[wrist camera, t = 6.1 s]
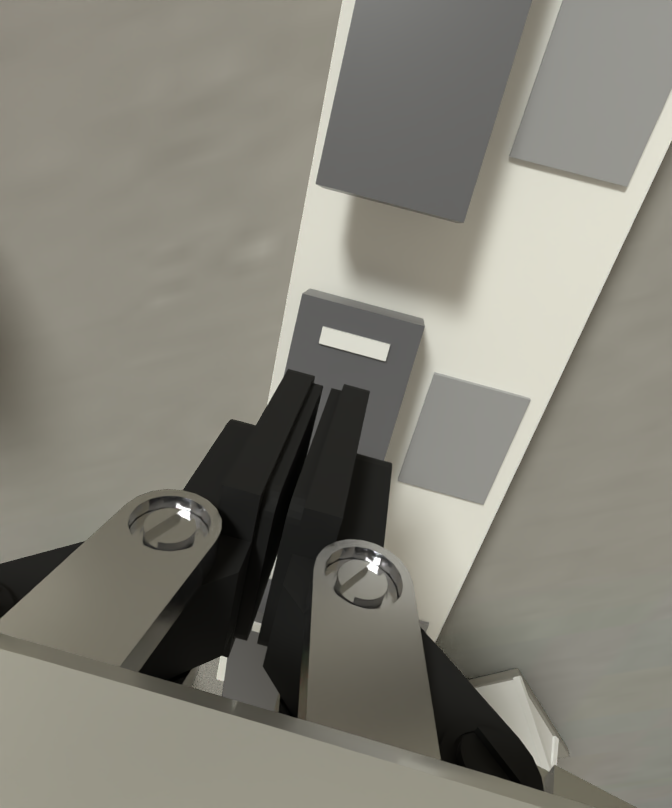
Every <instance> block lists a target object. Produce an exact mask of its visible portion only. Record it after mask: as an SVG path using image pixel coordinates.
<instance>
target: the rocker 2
mask: <svg viewBox="0 0 672 808" xmlns="http://www.w3.org/2000/svg"><path fill="white" fill-rule="evenodd" d="M531 3H532V0H356V1H355V5H354V10H353V14H352V19H351V24H350V28H349V33H348V37H347V42H346V46H345V51H344V55H343V60H342V65H341V69H340V74H339V78H338V83H337V87H336V92H335V96H334V101H333V106H332V110H331V115H330V119H329V124H328V128H327V133H326V137H325V142H324V147H323V151H322V156H321V160H320V165H319V169H318V174H317V178H316V183H315V184H316V185H318V186H320V187H322V188H325V189H328V190H332V191H336V192H340V193H344V194H347V195H351V196H355V197H359V198H363V199H367V200H370V201H374V202H378V203H382V204H386V205H390V206H393V207H397V208H401V209H405V210H409V211H412V212H416V213H420V214H424V215H428V216H432V217H435V218H439V219H443V220H447V221H451V222H455V223H464V221H465V217H466V214H467V211H468V208H469V204H470V201H471V198H472V195H473V191H474V188H475V185H476V182H477V178H478V175H479V172H480V169H481V165H482V162H483V159H484V156H485V152H486V149H487V146H488V143H489V139H490V136H491V133H492V130H493V126H494V123H495V120H496V117H497V113H498V110H499V107H500V104H501V100H502V97H503V94H504V91H505V88H506V84H507V81H508V78H509V75H510V71H511V68H512V65H513V62H514V58H515V55H516V52H517V49H518V45H519V42H520V39H521V36H522V32H523V29H524V26H525V23H526V19H527V16H528V13H529V10H530V6H531Z"/></svg>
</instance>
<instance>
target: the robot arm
mask: <svg viewBox="0 0 672 808" xmlns="http://www.w3.org/2000/svg"><path fill="white" fill-rule="evenodd" d="M314 380H315V376H313V375H310V374H306V373H302V372H298V371H295V370H291V369H288V370H287V371H286V373H285V375H284V377H283V379H282V380H281V382H280V384H279V386H278V387H277V389H276V391H275V393H274V394H273V396H272V398H271V400H270V402H269V403H268V405H267V407H266V409H265V410H264V412H263V414H262V416H261V417H260V419H259V421H258V423H257V424H256V426H255V425H252V424H248V423H244V422H241V421H237V420H233V419H232V420H230V421H229V422H228V423H227V425H226V426H225V428H224V429H223V431H222V432H221V434H220V435H219V437H218V438H217V440H216V441H215V443H214V444H213V446H212V447H211V449H210V450H209V452H208V453H207V455H206V456H205V458H204V459H203V461H202V462H201V464H200V465H199V467H198V468H197V470H196V471H195V473H194V474H193V476H192V477H191V479H190V480H189V482H188V483H187V485H186V486H185V488H184V489H183V490H173V489H164V490H156V491H151V492H148V493H145V494H142V495H139V496H137V497H136V498H134V499H133V500H131V501H130V502H128V503H127V504H125V505H124V506H123V507H122V508H121V509H120V510H119V511H118V512H117V513H116V514H115V515H113V516H112V517H111V518H110V519H109V520H108V521H107V522H106V523H105V524H104V525H102V526H101V527H100V528H99V529H98V530H97V531H96V532H95V533H94V534H93V535H92V536H90V537H89V538H88V539H87V540H86V541H84V542H80V543H77V544H73V545H69V546H65V547H62V548H58V549H54V550H51V551H47V552H43V553H39V554H36V555H32V556H28V557H24V558H21V559H17V560H13V561H9V562H6V563H2V564H0V808H637V807H635V806H633V805H631V804H629V803H627V802H625V801H623V800H622V799H620V798H618V797H616V796H614V795H612V794H610V793H608V792H606V791H604V790H602V789H600V788H599V787H597V786H595V785H593V784H591V783H589V782H587V781H585V780H583V779H581V778H579V777H577V776H576V775H574V774H572V773H570V772H568V771H566V770H564V769H562V768H560V767H558V766H556V765H554V766H553V767H552V768H551V770H550V771H547V770H545V769H543V768H541V767H539V766H537V765H536V763H535V761H534V758H533V756H532V755H531V754H530V752H529V751H528V750H527V748H526V747H525V745H524V744H523V743H522V741H521V740H520V739H519V737H518V736H517V735H516V734H515V733H514V732H513V731H512V729H511V728H510V727H509V726H508V725H507V724H506V723H505V722H504V720H503V719H502V718H501V717H500V716H499V715H498V714H497V713H496V711H495V710H494V709H493V708H492V707H491V706H490V705H489V704H488V702H487V701H486V700H485V699H484V698H483V697H482V696H481V694H480V693H479V692H478V691H477V690H476V689H475V688H474V687H473V685H472V684H471V683H470V682H469V681H468V680H467V679H466V678H465V676H464V675H463V674H462V673H461V672H460V671H459V670H458V669H457V667H456V666H455V665H454V664H453V663H452V662H451V661H450V660H449V658H448V657H447V656H446V655H445V654H444V653H443V652H442V650H441V649H440V648H439V647H438V646H437V645H436V644H435V643H434V641H433V640H432V639H431V638H430V637H429V636H428V635H427V634H426V632H425V631H424V630H423V629H422V628H421V627H420V623H419V617H418V610H417V604H416V598H415V591H414V585H413V582H412V579H411V576H410V573H409V571H408V570H407V568H406V567H405V565H404V564H403V563H402V561H401V560H400V559H398V558H397V557H396V556H395V555H394V554H393V553H391V552H390V551H389V550H387V549H385V548H384V541H385V532H386V522H387V512H388V503H389V493H390V484H391V474H392V463H390V462H387V461H383V460H379V459H376V458H372V457H368V456H365V455H361V454H358V453H357V450H358V445H359V441H360V436H361V431H362V427H363V422H364V417H365V413H366V408H367V403H368V399H369V394H370V391H369V390H365V389H361V388H358V387H354V386H350V385H346V384H344V385H343V388H342V391H341V390H337V389H334V388H331V391H330V393H329V396H328V399H327V402H326V404H325V407H324V410H323V413H322V415H321V418H320V421H319V424H318V427H317V429H316V432H315V435H314V438H313V440H312V443H311V446H310V449H309V445H310V441H311V437H312V432H313V428H314V424H315V420H316V416H317V412H318V407H319V403H320V399H321V395H322V391H323V385H319V384H315V383H314ZM308 449H309V451H308ZM307 453H308V454H307ZM277 554H278V555H277ZM276 557H277V559H276ZM275 560H276V563H275ZM274 563H275V568H274V572H273V576H272V581H271V585H270V589H269V593H268V598H267V602H266V606H265V611H264V615H263V619H262V623H261V628H260V632H259V636H258V641H257V644H259V645H263V646H266V647H267V651H266V655H265V659H264V663H263V668H264V670H265V671H266V673H267V674H268V676H269V678H270V679H271V681H272V683H273V684H274V686H275V688H276V689H277V691H278V697H277V700H276V704H275V711H270V710H267V709H264V708H260V707H257V706H253V705H250V704H246V703H243V702H239V701H236V700H232V699H229V698H225V697H222V696H219V695H215V694H212V693H208V692H205V691H201V690H198V689H194V688H191V687H192V685H193V683H194V681H195V679H196V676H197V674H198V671H199V666H200V665H202V664H204V663H206V662H209V661H211V660H213V659H215V658H218V657H220V656H224V657H227V658H229V655H230V652H231V649H232V647H233V644H234V641H235V639H236V638H238V639H242V640H245V641H247V640H248V638H249V635H250V632H251V629H252V626H253V623H254V621H255V618H256V615H257V612H258V609H259V606H260V603H261V600H262V598H263V595H264V592H265V589H266V586H267V583H268V580H269V577H270V575H271V572H272V569H273V566H274Z"/></svg>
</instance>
